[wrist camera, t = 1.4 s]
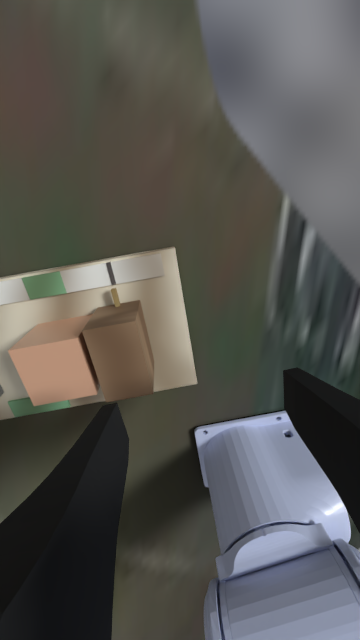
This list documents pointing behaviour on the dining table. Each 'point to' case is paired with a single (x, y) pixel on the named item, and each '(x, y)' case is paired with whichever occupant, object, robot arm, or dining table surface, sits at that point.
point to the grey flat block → (1, 391)
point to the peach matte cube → (56, 362)
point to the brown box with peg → (120, 350)
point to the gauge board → (83, 299)
